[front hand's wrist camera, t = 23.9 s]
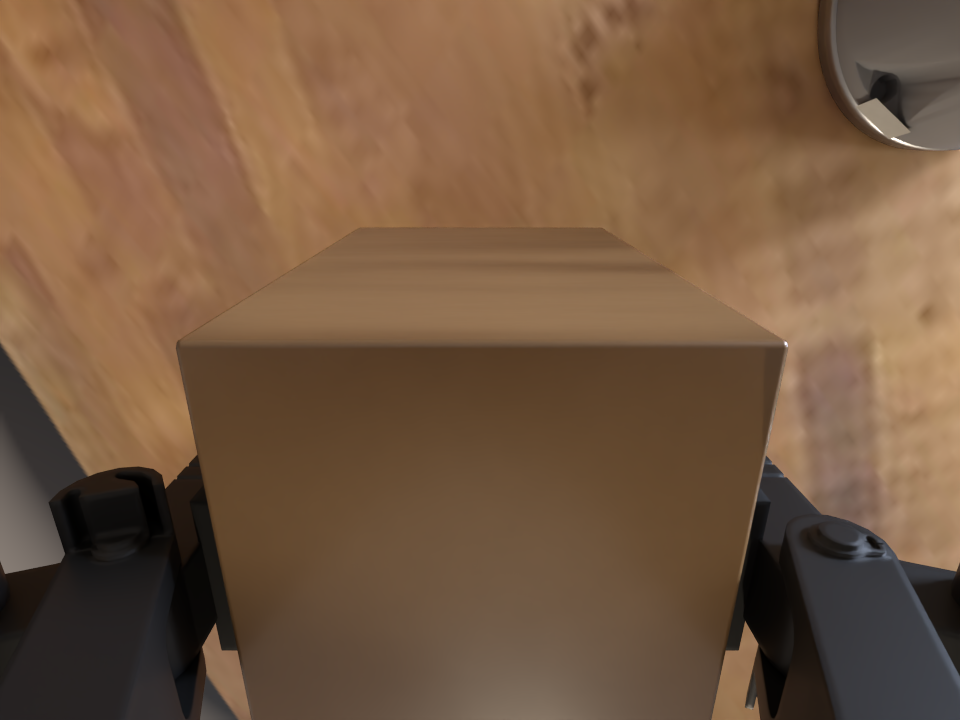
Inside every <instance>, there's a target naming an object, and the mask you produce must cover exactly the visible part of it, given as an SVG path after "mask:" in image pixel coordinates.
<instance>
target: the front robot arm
mask: <svg viewBox="0 0 960 720" xmlns="http://www.w3.org/2000/svg"><path fill="white" fill-rule="evenodd" d="M818 49H819V58H820V63H821V67H822V72H823V75H824V78H825V81H826V84H827V87H828V89H829V91H830V93H831V95H832V97H833V99H834V101H835V102H836V104H837V106H838V107H839V109H840V110H841V111H842V113H843V114H844V115H845V116H846V118H847V119H848V120H849V121H850V122H851V123H852V124H853V125H854V126H856V127H857V128H858V129H859V130H861V131H862V132H863V133H865V134H866V135H868V136H870V137H871V138H873V139H875V140H877V141H879V142H882V143H884V144H887V145H890V146H893V147H897V148H902V149H908V150H921V151H937V150H959V149H960V0H820V7H819V14H818ZM783 475H784V474H783V473H782V472H781V471H780V470H779V469H778V468H777V467H776V466H775V465H772V461H771V460H770V459H769V458H768V457H767V456H766V458H765V462H764V467H763V472H762V477H761V482H760V487H759V491H758V496H757V501H756V506H755V511H754V515H753V520H752V525H751V530H750V535H749V540H748V544H747V549H746V554H745V559H744V564H743V568H742V573H741V578H740V583H739V588H738V593H737V597H736V602H735V607H734V612H733V617H732V621H731V626H730V631H729V636H728V641H727V646H726V650H739V646H740V642H741V637H742V632H743V628H744V623H745V621H746V623H747V625H748V626H749V628H750V630H751V632H752V633H753V635H754V637H755V639H756V640H757V642H758V644H759V645H758V649H757V653H756V658H755V662H754V666H753V670H752V675H751V679H750V683H749V688H748V692H747V697H746V704H745V708H749V709H752V710H753V708H754V704H755V700H756V697H757V698H758V705H759V713H760V720H960V564H959V567H958V569H957V572H955V571H950V570H945V569H940V568H935V567H930V566H925V565H920V564H915V563H910V562H905V561H901V560H898V558H897V556H896V555H895V553H894V552H893V551H892V549H891V548H890V547H889V546H888V545H887V543H886V542H885V541H884V540H882V539H881V538H879V537H878V536H877V535H875V534H874V533H872V532H871V531H869V530H868V529H866V528H863V527H861V526H859V525H857V524H854V523H852V522H850V521H847V520H844V519H840V518H836V517H832V516H829V515H821V513H820V512H819V511H818V510H817V509H816V508H815V507H814V506H813V505H812V504H811V503H810V502H809V501H808V500H807V499H806V498H805V496H804V495H803V494H802V493H801V492H800V491H799V490H798V489H797V488H796V487H795V486H794V485H793V484H792V483H791V482H790V481H789V479H788V478H787V477H784V476H783ZM49 505H50V508H51V511H52V515H53V518H54V521H55V524H56V527H57V530H58V533H59V536H60V539H61V542H62V545H63V549H64V552H65V556H64V558H63V559H62V561H61V563H57V564H53V565H48V566H43V567H38V568H33V569H28V570H24V571H19V572H13V573H8V574H5V573H4V570H3V568H2V565H1V563H0V720H200V714H201V707H202V699H203V692H204V685H205V677H206V664H205V658H204V653H203V649H202V646H203V644H204V642H205V641H206V639H207V637H208V635H209V633H210V632H211V630H212V628H213V626H214V625H215V623H216V626H217V631H218V635H219V640H220V644H221V649H222V650H237V645H236V640H235V635H234V630H233V625H232V621H231V616H230V611H229V606H228V601H227V596H226V591H225V586H224V581H223V576H222V571H221V567H220V562H219V557H218V552H217V547H216V542H215V537H214V532H213V527H212V522H211V517H210V512H209V508H208V503H207V498H206V493H205V488H204V483H203V478H202V473H201V468H200V463H199V458H198V455H197V456H196V457H195V458H194V459H193V460H192V461H191V462H190V463H189V467H185V469H184V470H183V471H182V472H181V473H180V474H179V475H178V476H177V479H174V480H173V481H172V482H171V484H170V485H169V486H168V487H167V488H166V489H165V487H164V482H163V478H162V475H161V474H160V473H158V472H157V471H155V470H154V469H150V468H144V467H126V468H117V469H113V470H108V471H104V472H100V473H97V474H94V475H91V476H89V477H86V478H84V479H81V480H78V481H76V482H75V483H73V484H71V485H70V486H68V487H66V488H64V489H63V490H61V491H60V492H59V493H58V494H57V495H56V496H55V497H54V498H53V499H52V500H51V501H50V502H49Z"/></svg>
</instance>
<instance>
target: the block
mask: <svg viewBox="0 0 960 720" xmlns="http://www.w3.org/2000/svg"><path fill="white" fill-rule="evenodd" d="M176 350H177V355H178V360H179V365H180V370H181V375H182V380H183V385H184V390H185V395H186V400H187V404H188V409H189V414H190V419H191V424H192V429H193V434H194V439H195V444H196V449H197V454H198V458H199V463H200V468H201V473H202V478H203V483H204V488H205V493H206V498H207V503H208V508H209V512H210V517H211V522H212V527H213V532H214V537H215V542H216V547H217V552H218V557H219V562H220V567H221V571H222V576H223V581H224V586H225V591H226V596H227V601H228V606H229V611H230V616H231V621H232V625H233V630H234V635H235V640H236V645H237V650H238V655H239V660H240V665H241V670H242V675H243V679H244V684H245V689H246V694H247V699H248V704H249V709H250V714H251V719H252V720H711V718H712V713H713V708H714V703H715V699H716V694H717V689H718V684H719V679H720V674H721V670H722V665H723V660H724V655H725V650H726V646H727V641H728V636H729V631H730V626H731V621H732V617H733V612H734V607H735V602H736V597H737V593H738V588H739V583H740V578H741V573H742V568H743V564H744V559H745V554H746V549H747V544H748V540H749V535H750V530H751V525H752V520H753V515H754V511H755V506H756V501H757V496H758V491H759V487H760V482H761V477H762V472H763V467H764V462H765V458H766V453H767V448H768V443H769V438H770V434H771V429H772V424H773V419H774V414H775V409H776V405H777V400H778V395H779V390H780V385H781V381H782V376H783V371H784V366H785V361H786V356H787V352H788V344H787V342H786V341H785V340H784V339H782V338H780V337H779V336H777V335H776V334H774V333H772V332H771V331H769V330H767V329H766V328H764V327H763V326H761V325H759V324H758V323H756V322H754V321H753V320H751V319H750V318H748V317H746V316H745V315H743V314H741V313H740V312H738V311H736V310H735V309H733V308H732V307H730V306H728V305H727V304H725V303H723V302H722V301H720V300H719V299H717V298H715V297H714V296H712V295H710V294H709V293H707V292H706V291H704V290H702V289H701V288H699V287H697V286H696V285H694V284H693V283H691V282H689V281H688V280H686V279H684V278H683V277H681V276H679V275H678V274H676V273H675V272H673V271H671V270H670V269H668V268H666V267H665V266H663V265H662V264H660V263H658V262H657V261H655V260H653V259H652V258H650V257H649V256H647V255H645V254H644V253H642V252H640V251H639V250H637V249H636V248H634V247H632V246H631V245H629V244H627V243H626V242H624V241H623V240H621V239H619V238H618V237H616V236H614V235H613V234H611V233H609V232H608V231H606V230H605V229H603V228H358V229H357V230H355V231H353V232H352V233H350V234H349V235H347V236H345V237H344V238H342V239H341V240H339V241H337V242H336V243H334V244H333V245H331V246H329V247H328V248H326V249H325V250H323V251H321V252H320V253H318V254H317V255H315V256H313V257H312V258H310V259H308V260H307V261H305V262H304V263H302V264H300V265H299V266H297V267H296V268H294V269H292V270H291V271H289V272H288V273H286V274H284V275H283V276H281V277H280V278H278V279H276V280H275V281H273V282H272V283H270V284H268V285H267V286H265V287H264V288H262V289H260V290H259V291H257V292H256V293H254V294H252V295H251V296H249V297H248V298H246V299H244V300H243V301H241V302H240V303H238V304H236V305H235V306H233V307H231V308H230V309H228V310H227V311H225V312H223V313H222V314H220V315H219V316H217V317H215V318H214V319H212V320H211V321H209V322H207V323H206V324H204V325H203V326H201V327H199V328H198V329H196V330H195V331H193V332H191V333H190V334H188V335H187V336H185V337H183V338H182V339H180V340H179V341H178V342H177V345H176Z"/></svg>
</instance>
